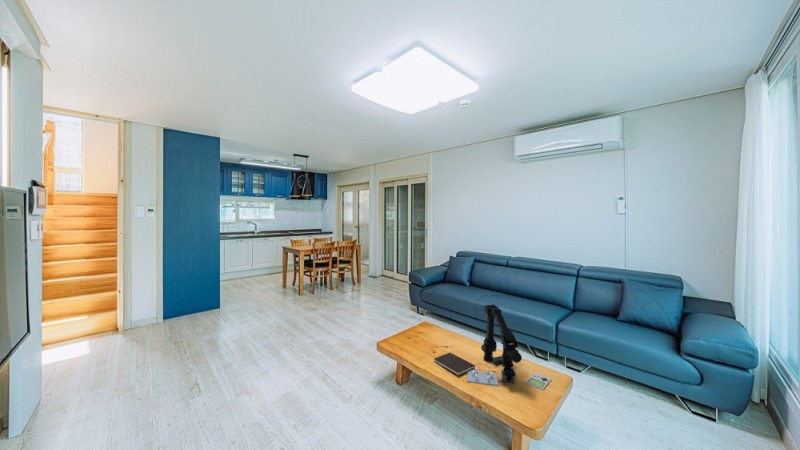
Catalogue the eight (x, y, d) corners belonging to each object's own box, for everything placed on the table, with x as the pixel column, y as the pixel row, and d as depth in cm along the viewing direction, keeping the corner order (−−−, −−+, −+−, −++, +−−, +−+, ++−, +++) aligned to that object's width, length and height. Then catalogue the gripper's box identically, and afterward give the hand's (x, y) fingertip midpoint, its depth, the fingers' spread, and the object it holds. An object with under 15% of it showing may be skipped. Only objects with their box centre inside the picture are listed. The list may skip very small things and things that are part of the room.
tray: (467, 371, 180) (467, 364, 180) (496, 375, 176) (496, 368, 176) (467, 381, 169) (467, 374, 169) (498, 386, 164) (498, 379, 164)
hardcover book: (458, 376, 173) (457, 372, 173) (433, 361, 193) (433, 358, 193) (475, 368, 182) (475, 364, 182) (450, 355, 201) (450, 352, 201)
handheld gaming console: (551, 378, 170) (542, 388, 160) (551, 380, 170) (542, 391, 160) (534, 371, 177) (524, 381, 167) (534, 374, 177) (524, 383, 167)
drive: (501, 378, 172) (501, 370, 172) (513, 379, 171) (513, 371, 170) (502, 382, 168) (502, 374, 168) (514, 384, 166) (514, 375, 166)
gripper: (492, 345, 180) (492, 369, 180) (495, 360, 162) (495, 386, 162) (511, 347, 177) (511, 371, 178) (515, 362, 159) (515, 389, 160)
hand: (507, 379), depth 169 cm, fingers closed on drive, 4 cm apart
